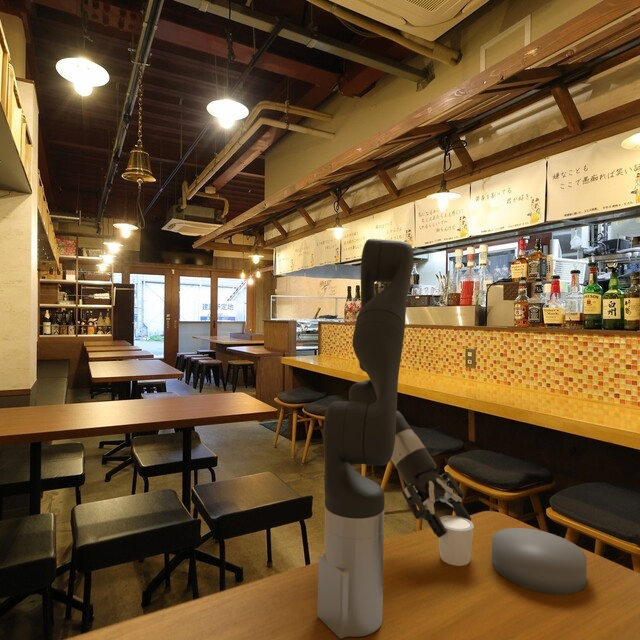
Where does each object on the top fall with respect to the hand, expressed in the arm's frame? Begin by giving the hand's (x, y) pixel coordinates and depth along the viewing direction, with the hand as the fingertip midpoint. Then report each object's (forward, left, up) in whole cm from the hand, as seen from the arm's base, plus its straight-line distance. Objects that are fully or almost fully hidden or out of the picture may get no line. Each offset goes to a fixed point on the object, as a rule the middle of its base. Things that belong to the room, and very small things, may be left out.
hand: (455, 528), depth 88 cm
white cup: (0, 0, -6) cm, 6 cm away
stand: (+10, -11, -6) cm, 16 cm away
